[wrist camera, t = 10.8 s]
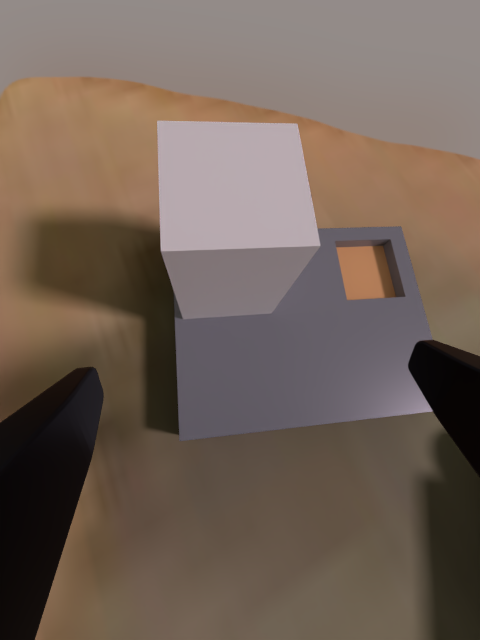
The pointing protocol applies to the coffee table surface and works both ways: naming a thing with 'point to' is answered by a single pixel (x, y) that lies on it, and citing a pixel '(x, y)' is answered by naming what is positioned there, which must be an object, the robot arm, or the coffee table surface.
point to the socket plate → (310, 345)
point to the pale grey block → (233, 215)
